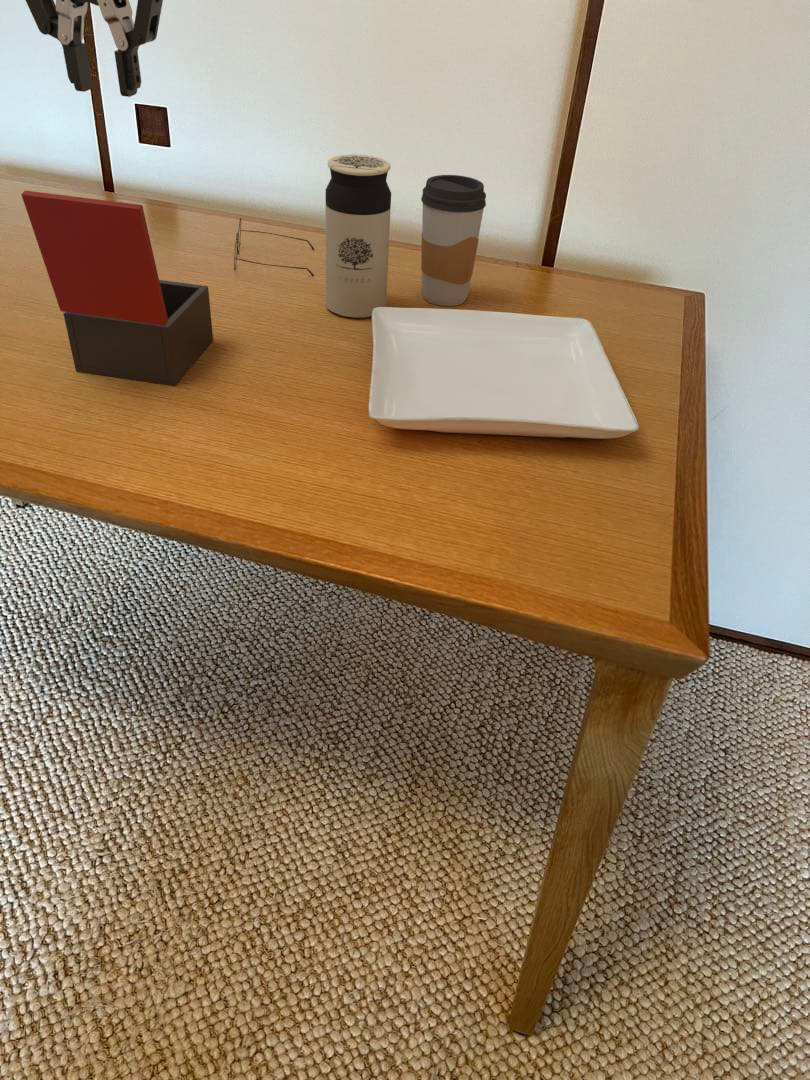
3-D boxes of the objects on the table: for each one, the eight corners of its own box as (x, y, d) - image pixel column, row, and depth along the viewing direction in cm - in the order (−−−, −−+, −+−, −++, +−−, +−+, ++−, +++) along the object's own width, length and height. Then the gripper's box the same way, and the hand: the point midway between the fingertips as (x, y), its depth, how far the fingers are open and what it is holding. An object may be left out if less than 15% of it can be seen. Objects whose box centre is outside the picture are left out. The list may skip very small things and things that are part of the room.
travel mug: (337, 291, 111) (338, 150, 100) (393, 301, 110) (400, 159, 99) (316, 313, 105) (315, 166, 94) (375, 324, 104) (381, 175, 93)
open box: (122, 328, 99) (112, 273, 95) (213, 340, 98) (208, 286, 93) (75, 371, 90) (63, 313, 86) (175, 386, 89) (167, 327, 85)
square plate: (634, 459, 83) (643, 426, 80) (366, 448, 81) (367, 414, 79) (585, 341, 104) (591, 313, 101) (371, 331, 102) (372, 301, 100)
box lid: (24, 190, 76) (20, 194, 76) (142, 204, 75) (139, 208, 74) (63, 307, 86) (60, 311, 85) (168, 321, 84) (165, 326, 84)
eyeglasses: (314, 247, 124) (314, 213, 121) (314, 279, 114) (313, 243, 111) (239, 245, 123) (237, 211, 119) (232, 277, 113) (230, 241, 110)
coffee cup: (446, 281, 117) (457, 170, 107) (486, 301, 112) (501, 187, 102) (401, 293, 112) (408, 178, 103) (441, 314, 108) (452, 197, 98)
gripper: (-39, -153, 64) (15, 92, 75) (133, -140, 62) (162, 108, 73) (14, -150, 69) (56, 78, 80) (172, -137, 68) (194, 92, 79)
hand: (106, 91), depth 77 cm, fingers open, 4 cm apart
